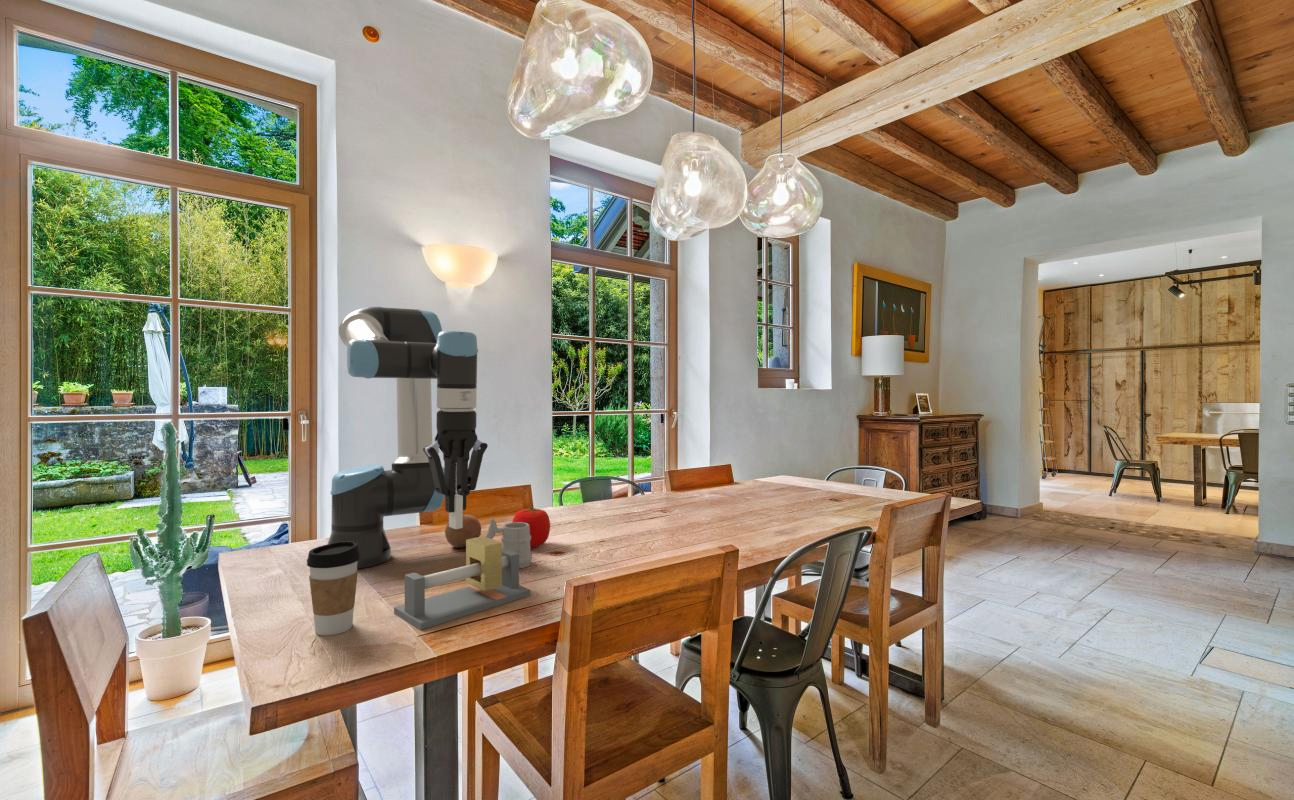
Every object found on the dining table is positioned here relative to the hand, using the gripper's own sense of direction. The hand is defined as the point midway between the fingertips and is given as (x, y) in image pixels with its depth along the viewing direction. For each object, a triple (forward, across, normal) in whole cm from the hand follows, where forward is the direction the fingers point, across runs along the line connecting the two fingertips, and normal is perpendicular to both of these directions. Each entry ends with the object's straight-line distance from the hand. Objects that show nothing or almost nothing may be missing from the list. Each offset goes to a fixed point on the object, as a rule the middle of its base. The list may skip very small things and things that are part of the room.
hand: (455, 527), depth 114 cm
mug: (+17, +22, +14) cm, 31 cm away
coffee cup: (+16, -21, +5) cm, 27 cm away
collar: (+13, +6, -1) cm, 14 cm away
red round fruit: (+17, +36, +24) cm, 46 cm away
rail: (+16, +2, -1) cm, 16 cm away
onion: (+17, +23, +37) cm, 47 cm away
